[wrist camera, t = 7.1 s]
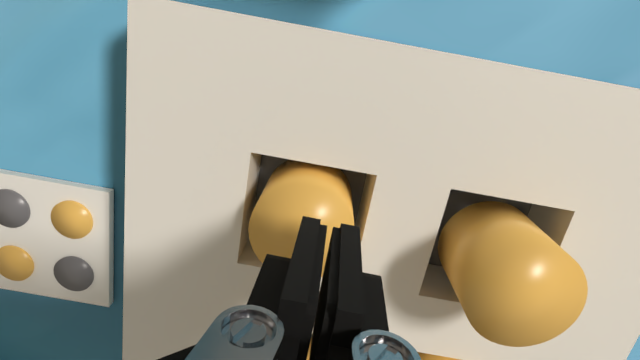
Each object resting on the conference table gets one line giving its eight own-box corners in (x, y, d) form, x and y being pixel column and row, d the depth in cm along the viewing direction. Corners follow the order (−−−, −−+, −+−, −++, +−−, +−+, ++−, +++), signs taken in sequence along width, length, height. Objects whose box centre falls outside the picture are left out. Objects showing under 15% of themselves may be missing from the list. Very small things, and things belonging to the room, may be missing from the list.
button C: (359, 164, 16) (365, 194, 13) (342, 242, 17) (343, 288, 14) (271, 148, 16) (255, 174, 13) (260, 227, 17) (242, 270, 14)
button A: (548, 210, 15) (607, 257, 11) (515, 292, 16) (560, 355, 13) (452, 193, 15) (485, 235, 11) (427, 276, 16) (450, 336, 12)
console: (682, 99, 15) (761, 111, 12) (510, 461, 22) (536, 524, 19) (167, 2, 15) (127, -8, 12) (149, 400, 21) (120, 454, 19)
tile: (114, 189, 17) (107, 193, 17) (113, 301, 19) (107, 308, 19) (-22, 164, 17) (-34, 168, 17) (-9, 280, 19) (-19, 287, 19)
